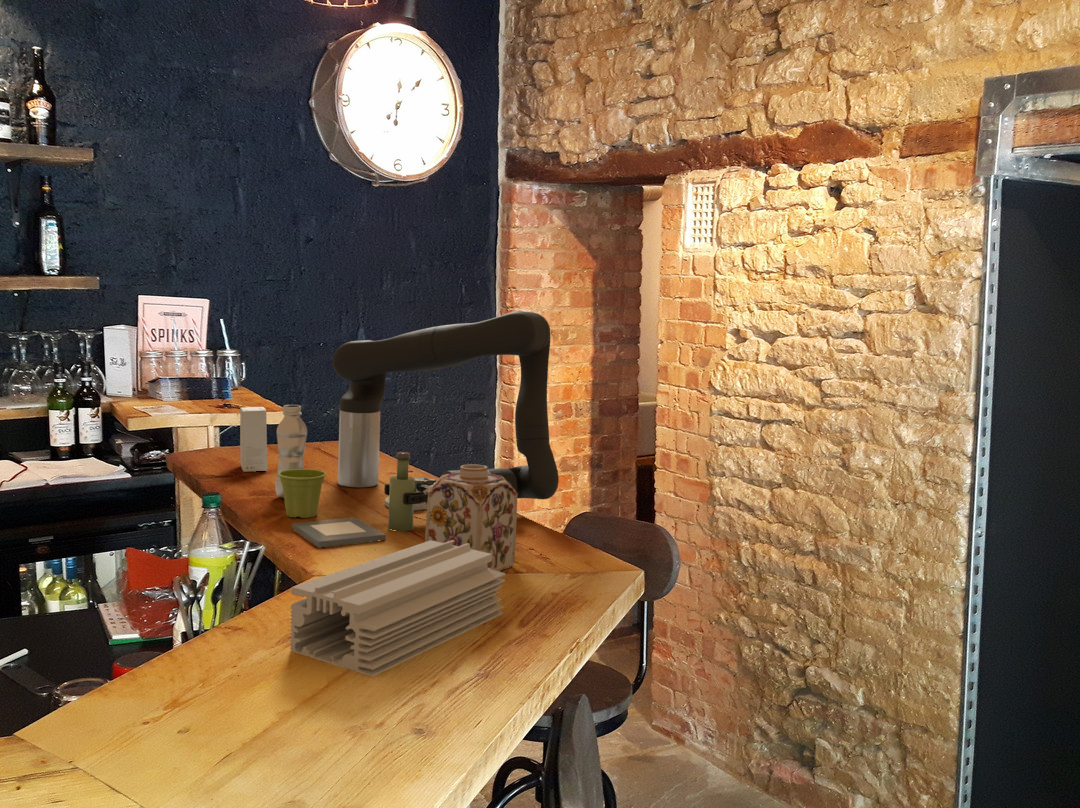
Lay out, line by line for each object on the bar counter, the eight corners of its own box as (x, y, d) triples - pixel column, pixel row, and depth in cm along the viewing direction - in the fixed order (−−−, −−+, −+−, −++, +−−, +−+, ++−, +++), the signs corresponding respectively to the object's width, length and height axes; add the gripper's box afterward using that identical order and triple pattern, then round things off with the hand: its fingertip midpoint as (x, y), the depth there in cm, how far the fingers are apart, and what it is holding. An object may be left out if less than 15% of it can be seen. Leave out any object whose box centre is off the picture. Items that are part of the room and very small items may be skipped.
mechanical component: (426, 513, 219) (435, 502, 229) (426, 492, 218) (436, 483, 228) (379, 510, 220) (391, 499, 230) (380, 489, 219) (391, 480, 229)
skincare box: (267, 472, 250) (268, 410, 248) (241, 472, 248) (242, 410, 246) (264, 465, 258) (265, 405, 256) (239, 465, 256) (239, 405, 254)
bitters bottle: (384, 526, 206) (386, 451, 204) (406, 524, 208) (409, 450, 206) (394, 532, 202) (397, 456, 200) (417, 530, 204) (419, 454, 202)
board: (292, 529, 200) (292, 522, 200) (355, 523, 207) (355, 516, 207) (318, 548, 188) (318, 541, 188) (385, 540, 196) (385, 534, 195)
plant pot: (268, 513, 211) (268, 471, 210) (307, 507, 218) (308, 466, 217) (294, 523, 205) (295, 479, 204) (334, 516, 212) (335, 474, 211)
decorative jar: (477, 582, 174) (482, 476, 171) (422, 568, 180) (425, 465, 177) (516, 566, 184) (521, 465, 181) (463, 554, 190) (467, 456, 187)
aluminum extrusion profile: (503, 615, 159) (506, 551, 158) (372, 679, 133) (375, 603, 131) (428, 596, 166) (430, 535, 165) (290, 653, 140) (291, 580, 139)
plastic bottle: (268, 498, 224) (269, 406, 221) (287, 492, 230) (288, 402, 227) (293, 502, 221) (295, 409, 218) (312, 496, 227) (314, 405, 225)
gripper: (451, 463, 217) (379, 468, 208) (485, 476, 205) (411, 482, 197) (450, 498, 218) (378, 504, 209) (484, 514, 206) (409, 521, 198)
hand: (394, 494), depth 203 cm, fingers open, 8 cm apart
